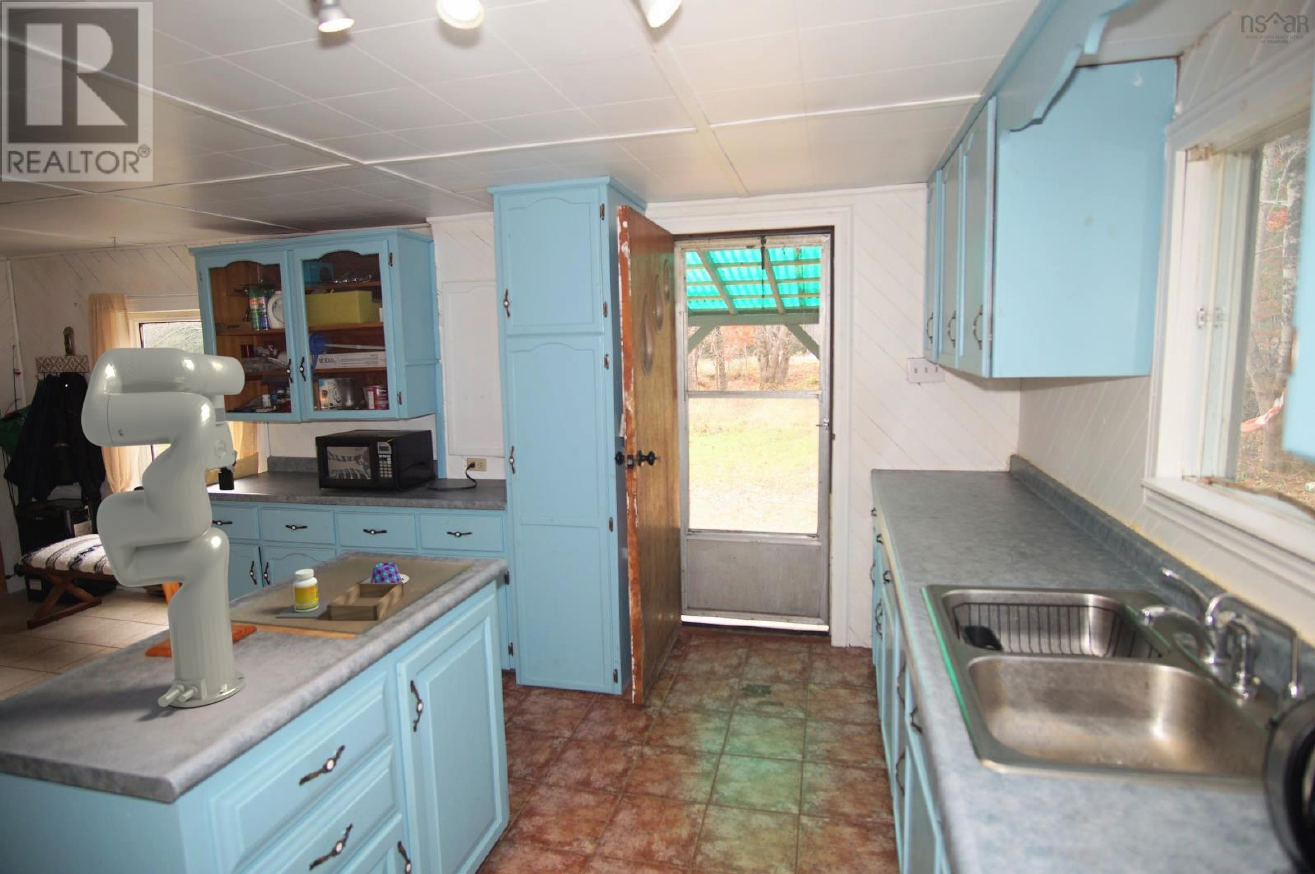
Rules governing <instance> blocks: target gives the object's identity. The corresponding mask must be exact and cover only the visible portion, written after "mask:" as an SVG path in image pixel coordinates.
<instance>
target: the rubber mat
mask: <svg viewBox="0 0 1315 874" xmlns="http://www.w3.org/2000/svg"><path fill="white" fill-rule="evenodd" d="M333 601H334V600H319V607H318V608H317V609H316V610H314V611H310V612H305V613H301V612H296V611H295V608H294V603H293V604H292V605H291V606H289V607H288V608H286V609H285V610H283V611H282V612H280V613H279V614H277V615H276V616H275V618H276V619H318V618H320V617H321V616H323V614H325V613H327V605H329V604H330V603H331V602H333Z"/></svg>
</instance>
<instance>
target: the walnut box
mask: <svg viewBox="0 0 1315 874" xmlns="http://www.w3.org/2000/svg"><path fill="white" fill-rule="evenodd" d="M404 589H405V588H404V583H363V582H356V583H355V584H353V585H352V586H351V587H350V588H348V589H347V590H346V591H344V592H343V593H342V594H340V595H339V596H337V597H336V598H335V599H334V600H332V601H333V602H331V603H330V604H329V605H327V611H326V614H327V621H379V620H380V619H381V618H382V617H383V616H384V615H385V614H386V613H387V612H388V611H389V610H391V609H392V608H393V607H394V606H395V605H396V604H397V603H398V602H399V601H400V600H401V599H402V598H403V597H404V596H405V590H404ZM402 596H403V597H402ZM360 598H380V599H379V600H378V601H377V602H375V603H374V604H363V603H362V604H356V603H355V602H356V601H357V600H359V599H360ZM398 600H399V601H398ZM397 601H398V602H397ZM396 602H397V603H396ZM354 603H355V604H354ZM393 605H394V606H393ZM392 606H393V607H392ZM383 614H384V615H383ZM382 615H383V616H382ZM378 619H379V620H378Z"/></svg>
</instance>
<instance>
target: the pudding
mask: <svg viewBox="0 0 1315 874" xmlns="http://www.w3.org/2000/svg"><path fill="white" fill-rule="evenodd" d="M402 578H403V579H404V580H402ZM409 580H410V577H409V575H406V574H403V573H400V571H399V567H398V566H397V564H396V563H395V562H390V561H388V562H380V563H378V564H375V565H374V567H373V568H372V573H371V577H368V578H367V579H364V580H363V581H362V583H399V582H403V584H405V583H407V582H408V581H409Z"/></svg>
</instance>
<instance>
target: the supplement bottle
mask: <svg viewBox="0 0 1315 874" xmlns="http://www.w3.org/2000/svg"><path fill="white" fill-rule="evenodd" d="M314 574H315V572H314V569H312V568H303V569H299V570H297V571H295V572H294V578H295V580H294V581H293V583H292V593H293V604H294V608H295V611H296V612H301V613H305V612H310V611H314V610H316V609H317V608H318V607H319V601H320V600H319V587H318V580H317V578H316V577H314Z"/></svg>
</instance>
